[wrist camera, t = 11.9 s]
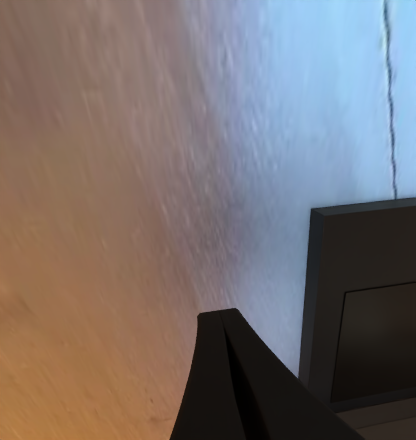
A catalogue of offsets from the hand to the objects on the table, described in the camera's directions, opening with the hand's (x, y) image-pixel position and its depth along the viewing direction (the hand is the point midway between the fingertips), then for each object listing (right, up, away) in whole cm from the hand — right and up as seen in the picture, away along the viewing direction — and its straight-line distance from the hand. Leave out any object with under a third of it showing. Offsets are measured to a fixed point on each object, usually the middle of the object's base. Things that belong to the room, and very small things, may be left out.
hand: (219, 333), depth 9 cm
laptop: (+23, -4, +16) cm, 28 cm away
